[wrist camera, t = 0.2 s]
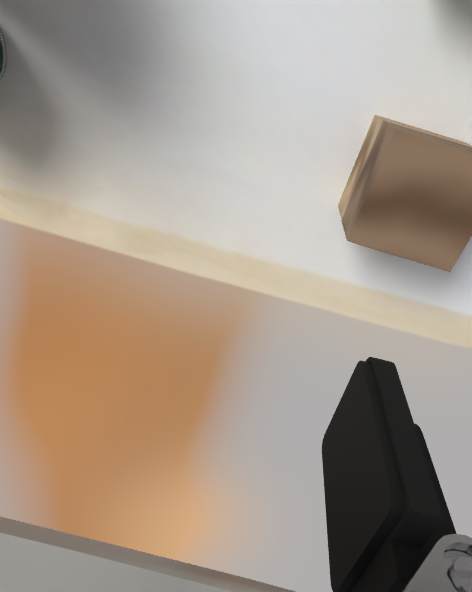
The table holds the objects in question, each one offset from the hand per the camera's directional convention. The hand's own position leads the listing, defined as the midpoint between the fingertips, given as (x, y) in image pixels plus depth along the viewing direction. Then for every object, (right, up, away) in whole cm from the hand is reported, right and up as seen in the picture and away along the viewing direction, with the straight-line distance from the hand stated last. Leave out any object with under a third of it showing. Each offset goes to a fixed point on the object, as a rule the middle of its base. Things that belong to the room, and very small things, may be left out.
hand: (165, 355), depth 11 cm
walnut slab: (+15, +10, +23) cm, 29 cm away
